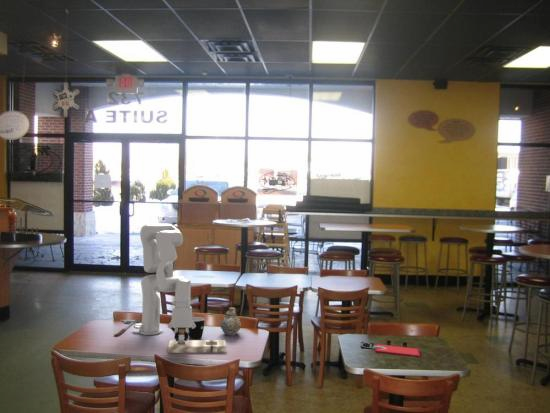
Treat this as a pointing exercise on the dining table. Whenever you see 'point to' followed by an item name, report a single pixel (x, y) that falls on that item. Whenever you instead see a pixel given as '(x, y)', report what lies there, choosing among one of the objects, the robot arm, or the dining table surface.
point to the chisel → (127, 326)
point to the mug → (197, 328)
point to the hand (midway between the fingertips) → (181, 340)
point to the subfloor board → (197, 346)
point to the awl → (181, 336)
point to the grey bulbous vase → (230, 322)
